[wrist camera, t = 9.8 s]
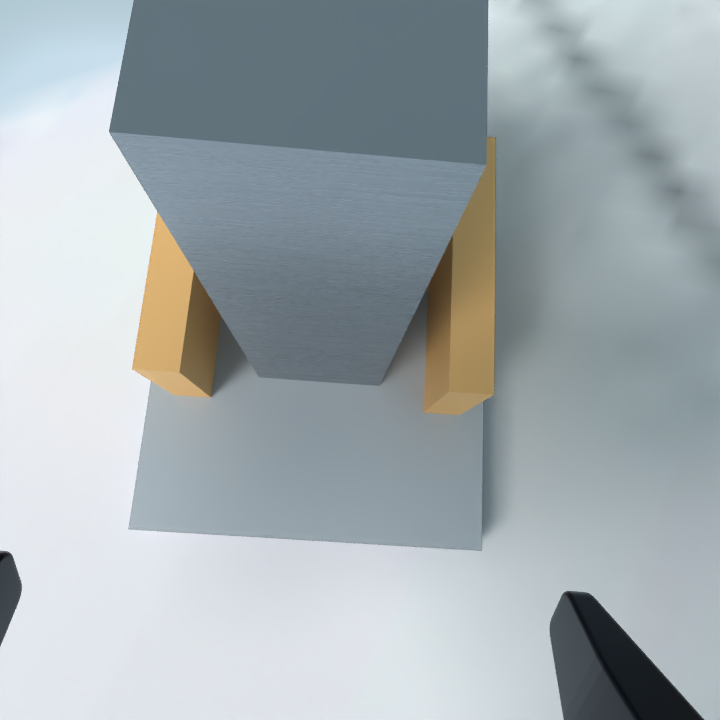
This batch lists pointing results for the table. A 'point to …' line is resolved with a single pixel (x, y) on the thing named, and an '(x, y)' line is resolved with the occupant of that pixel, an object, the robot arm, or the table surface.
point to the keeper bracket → (321, 415)
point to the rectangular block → (308, 162)
